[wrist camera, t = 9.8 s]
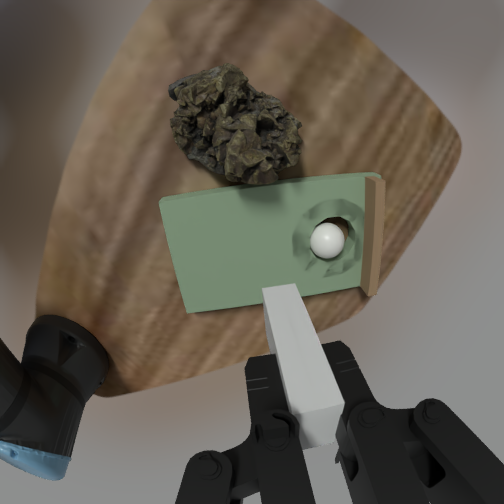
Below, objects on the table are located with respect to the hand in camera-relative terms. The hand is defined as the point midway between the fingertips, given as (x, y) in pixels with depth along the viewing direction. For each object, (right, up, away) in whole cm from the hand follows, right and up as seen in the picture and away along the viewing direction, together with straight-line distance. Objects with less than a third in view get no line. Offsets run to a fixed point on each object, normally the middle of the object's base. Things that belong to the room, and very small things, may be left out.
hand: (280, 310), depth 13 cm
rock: (-3, +16, +14) cm, 22 cm away
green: (+2, +4, +20) cm, 21 cm away
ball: (+7, +4, +19) cm, 20 cm away
